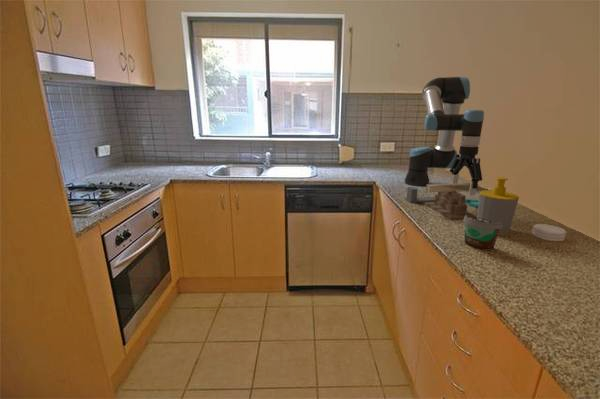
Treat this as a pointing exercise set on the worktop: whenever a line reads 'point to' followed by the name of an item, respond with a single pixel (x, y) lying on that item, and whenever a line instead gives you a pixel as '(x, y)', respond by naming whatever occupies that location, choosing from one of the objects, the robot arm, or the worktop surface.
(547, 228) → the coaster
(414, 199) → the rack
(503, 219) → the soap bottle
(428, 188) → the birch bar
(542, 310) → the worktop surface
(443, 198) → the fulcrum
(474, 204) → the alien figure
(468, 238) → the food container
